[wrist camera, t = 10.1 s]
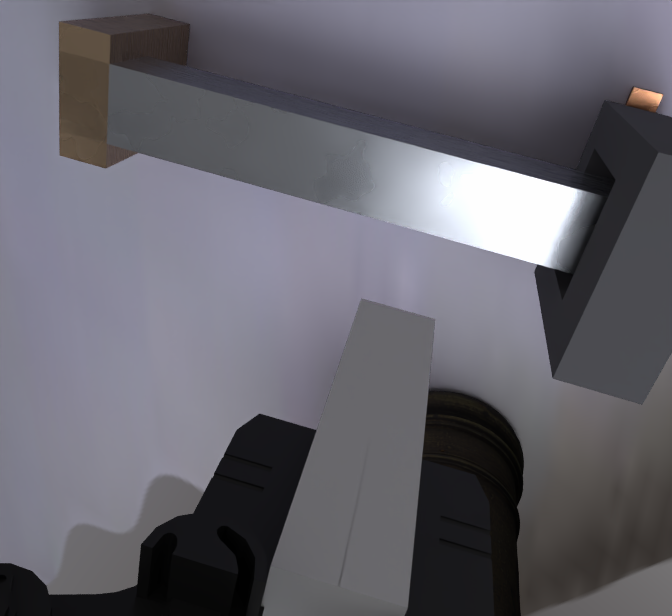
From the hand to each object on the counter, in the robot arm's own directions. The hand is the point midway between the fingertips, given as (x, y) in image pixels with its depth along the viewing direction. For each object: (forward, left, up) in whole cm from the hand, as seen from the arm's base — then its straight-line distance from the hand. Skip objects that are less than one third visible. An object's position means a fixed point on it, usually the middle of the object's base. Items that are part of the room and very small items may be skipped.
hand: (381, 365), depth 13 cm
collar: (+7, 0, -17) cm, 18 cm away
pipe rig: (+1, 0, -19) cm, 19 cm away
